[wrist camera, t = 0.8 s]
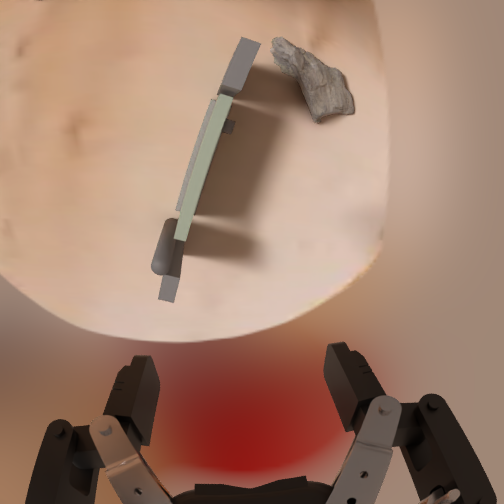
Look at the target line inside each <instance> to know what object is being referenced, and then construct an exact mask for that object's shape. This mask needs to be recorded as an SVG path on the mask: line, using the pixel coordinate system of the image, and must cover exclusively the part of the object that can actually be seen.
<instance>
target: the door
mask: <svg viewBox="0 0 504 504" xmlns="http://www.w3.org/2000/svg"><path fill="white" fill-rule="evenodd" d="M232 100H233V97H230V96H227V95H223V94H220V95H219V96H218V98H217V101H216V103H215V106H214V109H213V111H212V114H211V117H210V120H209V122H208V125H207V128H206V131H205V134H204V137H203V139H202V142H201V145H200V148H199V151H198V154H197V157H196V161H195V164H194V167H193V170H192V173H191V176H190V180H189V183H188V186H187V190H186V193H185V197H184V200H183V204H182V207H181V211H180V214H179V218H178V223H177V227H176V231H175V235H174V239H178V240H182V241H186V239H187V235H188V232H189V228H190V225H191V221H192V218H193V215H194V211H195V208H196V205H197V201H198V198H199V195H200V192H201V189H202V185H203V182H204V179H205V176H206V173H207V170H208V167H209V164H210V161H211V158H212V155H213V152H214V149H215V146H216V144H217V141H218V138H219V135H220V132H224V133H227V134H231V133H232V130H233V128H234V125H235V121H232V120H229V119H226V116H227V113H228V111H229V108H230V106H231V103H232Z"/></svg>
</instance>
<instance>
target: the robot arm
mask: <svg viewBox="0 0 504 504" xmlns="http://www.w3.org/2000/svg"><path fill="white" fill-rule="evenodd" d="M39 1H40V0H39ZM324 378H325V381H326V383H327V386H328V388H329V391H330V393H331V396H332V398H333V401H334V403H335V406H336V408H337V411H338V413H339V416H340V419H341V421H342V424H343V426H344V429H345V431H346V432H349V431H353V430H354V432H355V435H356V436H355V438H354V440H353V443H352V445H351V447H350V449H349V451H348V454H347V456H346V458H345V460H344V462H343V464H342V466H341V468H340V470H339V472H338V474H337V476H336V477H335V479H334V481H333V483H332V485H331V486H330V485H327V484H324V483H320V482H313V481H307V479H306V476H301V477H295V478H289V479H282V480H277V481H275V482H271V483H268V484H265V485H262V486H259V487H255V488H251V489H250V488H249V489H248V488H241V487H235V486H229V485H224V484H195V489H194V490H190V491H186V492H183V493H181V494H179V495H177V496H175V497H173V496H172V495H171V494H170V493H169V491H168V490H167V489H166V488H165V487H164V485H163V484H162V483H161V482H160V480H159V479H158V478H157V476H156V475H155V474H154V472H153V471H152V469H151V468H150V466H149V465H148V464H147V462H146V461H145V459H144V458H143V456H142V455H141V453H140V449H141V445H144V446H149V444H150V438H151V433H152V427H153V422H154V416H155V411H156V406H157V401H158V397H159V391H160V381H159V377H158V374H157V371H156V368H155V365H154V362H153V360H152V358H151V356H145V355H135V356H134V357H133V360H132V362H131V365H130V366H124V367H123V368H122V369H121V370H120V371H119V372H118V374H117V377H116V380H115V383H114V385H113V390H111V393H110V396H109V399H108V401H107V404H106V407H105V410H104V413H103V415H102V416H99V417H97V418H95V419H94V420H93V421H92V422H91V424H90V425H86V426H76V427H72V425H71V424H70V423H69V422H68V421H66V420H62V419H58V420H55V421H53V422H52V423H50V424H49V426H48V427H47V430H46V433H45V436H44V439H43V441H42V444H41V447H40V450H39V453H38V456H37V459H36V463H35V466H34V470H33V473H32V477H31V481H30V484H29V489H28V493H27V497H26V501H25V504H94V502H95V494H96V487H97V481H98V475H99V469H100V468H106V469H107V470H106V475H107V477H108V479H109V481H110V483H111V484H112V486H113V488H114V490H115V491H116V493H117V495H118V496H119V498H120V500H121V501H122V503H123V504H374V503H375V500H376V498H377V495H378V493H379V491H380V488H381V486H382V483H383V480H384V478H385V475H386V472H387V470H388V467H389V464H390V460H391V458H392V454H393V450H392V449H391V448H392V447H396V446H399V447H400V449H401V452H402V454H403V457H404V459H405V462H406V464H407V467H408V469H409V472H410V474H411V477H412V479H413V482H414V485H415V488H416V490H417V493H418V496H419V498H420V501H421V502H420V503H419V504H496V502H497V499H496V495H495V493H494V490H493V488H492V486H491V484H490V482H489V479H488V477H487V475H486V473H485V471H484V469H483V467H482V465H481V463H480V461H479V459H478V457H477V455H476V454H475V452H474V450H473V448H472V446H471V445H470V442H469V441H468V439H467V437H466V435H465V433H464V432H463V430H462V428H461V426H460V425H459V423H458V422H457V420H456V418H455V416H454V415H453V413H452V411H451V410H450V408H449V406H448V405H447V403H446V401H445V400H444V399H443V398H442V397H441V396H439V395H437V394H427V395H425V396H423V397H422V398H421V399H420V401H419V402H418V403H399V401H398V400H397V399H395V398H393V397H391V396H387V395H386V394H385V392H384V390H383V388H382V387H381V385H380V383H379V381H378V380H377V378H376V376H375V375H374V373H373V372H372V369H371V368H370V366H368V363H367V361H366V359H365V358H364V356H363V355H361V354H360V353H359V352H357V351H350V350H349V348H348V346H347V344H346V343H345V342H339V343H332V344H328V346H327V351H326V357H325V363H324Z"/></svg>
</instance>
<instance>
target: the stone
mask: <svg viewBox="0 0 504 504" xmlns="http://www.w3.org/2000/svg"><path fill="white" fill-rule="evenodd" d="M271 43H272V44H273V48H271V50H270V52H271V53H272V54H273V56H274V63H275V64H276V65H278V66H280V67H281V72H282V73H284V74H287V75H288V76H292V77H293V78H296V80H297V81H298V83H299V85H300V87H301V90H302V93H303V95H304V97H305V100H306V102H307V104H308V107H309V110H310V113H311V116H312V119H313V121H314V123H318V122H321V118H322V117H324V116H327V115H331V114H344V115H348V114H353V113H354V106H353V99H352V97H351V93H350V92H349V91H348V90H347V89H346V87H345V84H344V79H343V77H342V73H341V72H340V71H339V70H338V69H336V68H330V67H328V66H326V65H324V64H323V63H322V62H321V61H320V60H318V59H317V58H316V57H314V55H313V54H312V53H309V52H306V51H305V50H304V49H302V48H298V47H296V46H293V45H291V44H290V43H289V42H288V41H287V40H286V39H284V38H283V37H276V38H274V39H272V41H271Z"/></svg>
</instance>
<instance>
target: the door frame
mask: <svg viewBox="0 0 504 504" xmlns="http://www.w3.org/2000/svg"><path fill="white" fill-rule="evenodd" d="M260 45H261V43H258V42H255V41H252V40H250V39H247V38H244V37H241V39H240V41H239V44H238V46H237V48H236V50H235V52H234V54H233V57H232V59H231V61H230V63H229V66H228V68H227V71H226V73H225V75H224V78H223V80H222V83H221V85H220V88H219V90H218V93H217V95H220V94H223V95H227V96H230V97H234V96H235V95H236V94H238V93H239V92H240V91H241V90H242V88H243V85H244V83H245V80H246V78H247V75H248V73H249V71H250V68H251V66H252V63H253V61H254V59H255V56H256V54H257V52H258V50H259V47H260ZM215 103H216V101H215V100H212V99H211V101H210V104H209V107H208V109H207V112H206V115H205V118H204V120H203V123H202V126H201V129H200V132H199V135H198V138H197V141H196V144H195V147H194V150H193V153H192V156H191V159H190V162H189V165H188V169H187V172H186V175H185V178H184V182H183V185H182V189H181V192H180V196H179V199H178V203H177V206H176V211H181V207H182V204H183V200H184V197H185V193H186V190H187V186H188V183H189V180H190V176H191V173H192V170H193V167H194V164H195V161H196V157H197V154H198V151H199V148H200V145H201V142H202V139H203V137H204V134H205V131H206V128H207V125H208V122H209V120H210V117H211V114H212V111H213V109H214V106H215ZM231 107H232V106H230V108H229V111H228V113H227V116H226V119H227V117H228V115H229V112H230V109H231ZM221 134H222V132H220V135H219V138H218V141H217V144H216V146H215V149H214V152H213V155H212V158H211V161H210V164H209V167H208V170H207V173H206V176H205V179H204V182H203V185H202V189H201V192H200V195H199V198H198V201H197V205H196V208H195V211H194V215H195V212H196V209H197V206H198V203H199V199H200V196H201V193H202V190H203V187H204V183H205V180H206V177H207V174H208V171H209V168H210V165H211V162H212V159H213V156H214V153H215V151H216V148H217V145H218V142H219V139H220V136H221ZM177 223H178V221H177V220H176V219H173V218H169V219H167V220H166V221H165V224H164V226H163V229H162V232H161V235H160V238H159V241H158V244H157V247H156V251H155V254H154V257H153V260H152V263H151V269H152V271H153V272H154V273H155V274H157V275H163V277H162V282H161V287H160V292H159V297H158V299H159V300H163V301H168V302H172V303H174V300H175V296H176V292H177V288H178V284H179V280H180V274H181V265H182V257H183V250H184V242H185V241H182V240H178V239H174V235H175V231H176V227H177Z"/></svg>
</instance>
